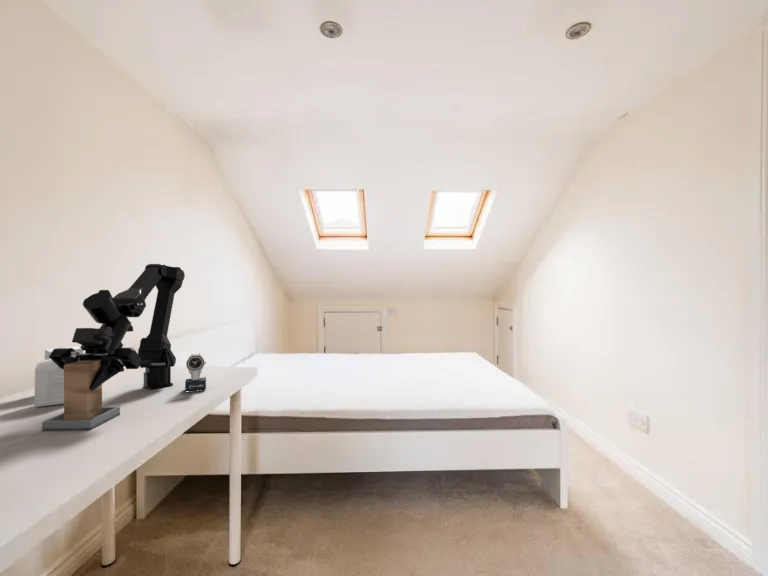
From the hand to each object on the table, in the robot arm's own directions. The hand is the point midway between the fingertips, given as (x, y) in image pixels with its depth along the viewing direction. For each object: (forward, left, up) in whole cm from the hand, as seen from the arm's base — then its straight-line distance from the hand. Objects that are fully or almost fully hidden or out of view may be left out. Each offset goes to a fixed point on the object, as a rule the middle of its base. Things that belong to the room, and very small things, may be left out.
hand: (79, 389), depth 89 cm
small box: (-6, -37, -8) cm, 38 cm away
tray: (-1, -1, -8) cm, 8 cm away
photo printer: (-2, -24, -8) cm, 25 cm away
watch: (-31, -8, -8) cm, 33 cm away
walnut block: (-1, -1, -7) cm, 7 cm away
